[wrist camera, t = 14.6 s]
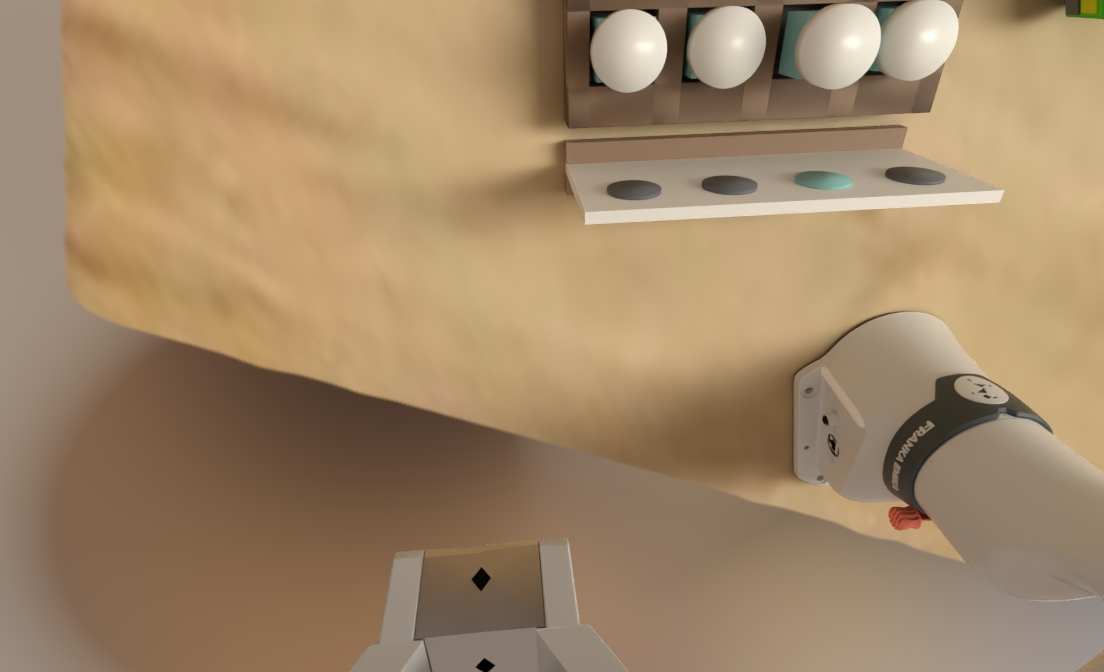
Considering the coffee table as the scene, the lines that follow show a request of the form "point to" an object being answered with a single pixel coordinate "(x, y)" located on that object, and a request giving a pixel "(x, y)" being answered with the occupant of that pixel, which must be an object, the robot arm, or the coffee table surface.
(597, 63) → the button
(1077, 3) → the toy car
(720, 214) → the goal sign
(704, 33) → the button
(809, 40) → the button
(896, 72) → the button
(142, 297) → the coffee table surface
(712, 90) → the walnut button board
